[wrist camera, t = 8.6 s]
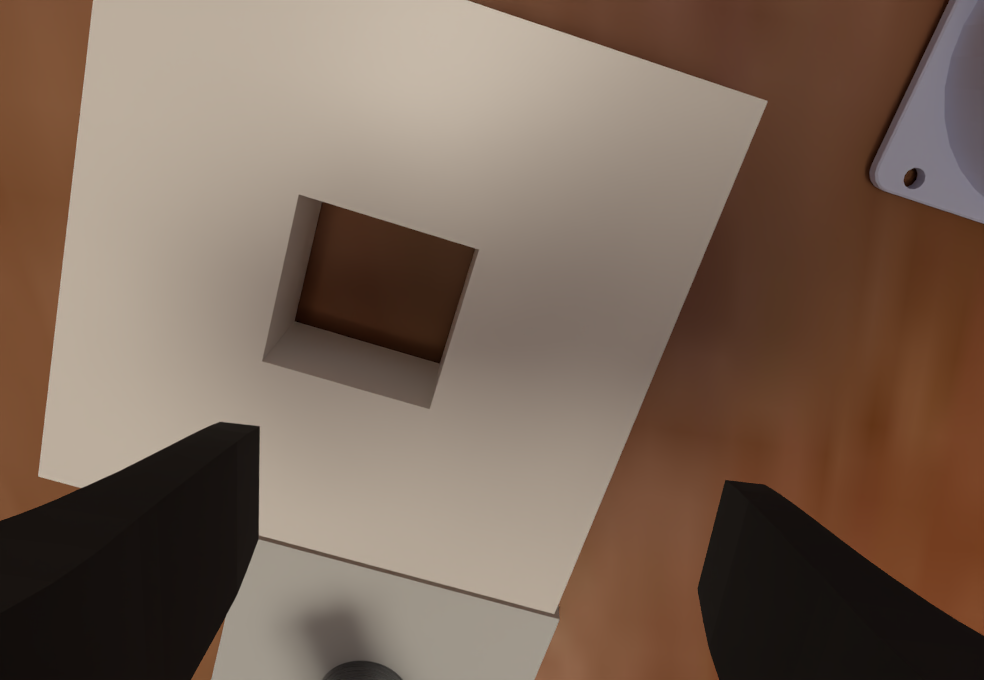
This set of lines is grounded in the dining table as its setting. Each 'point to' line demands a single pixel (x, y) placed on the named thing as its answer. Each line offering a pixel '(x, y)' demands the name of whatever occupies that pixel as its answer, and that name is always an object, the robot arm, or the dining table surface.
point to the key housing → (403, 201)
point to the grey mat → (370, 623)
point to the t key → (361, 672)
